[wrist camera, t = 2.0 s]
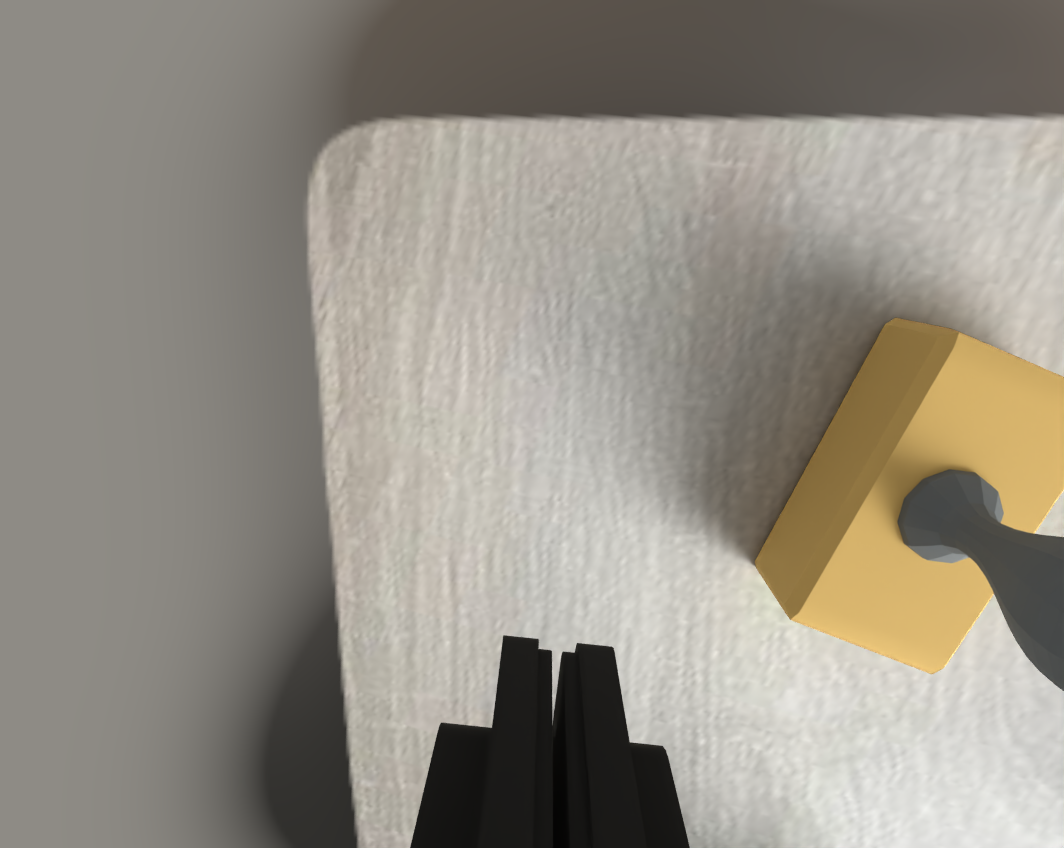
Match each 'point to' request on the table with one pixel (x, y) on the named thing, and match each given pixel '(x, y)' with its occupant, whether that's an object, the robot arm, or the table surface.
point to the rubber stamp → (930, 504)
